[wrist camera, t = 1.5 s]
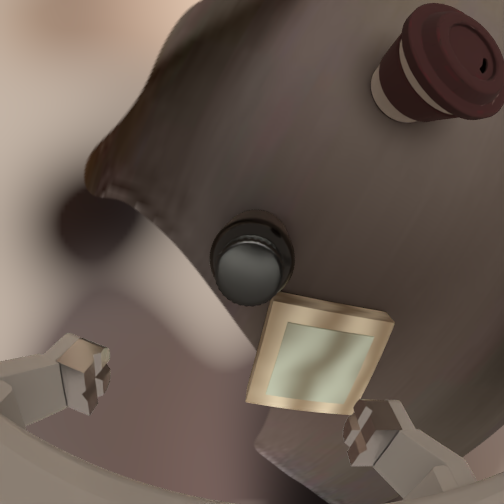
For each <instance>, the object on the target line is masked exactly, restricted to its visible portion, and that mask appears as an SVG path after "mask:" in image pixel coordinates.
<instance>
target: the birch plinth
mask: <svg viewBox="0 0 504 504" xmlns="http://www.w3.org/2000/svg"><path fill="white" fill-rule="evenodd" d="M394 324H395V322H394V321H393V320H392V319H391V317H390V316H389V315H388V314H387V313H386V312H383V311H377V310H372V309H366V308H361V307H355V306H350V305H345V304H339V303H334V302H329V301H324V300H319V299H314V298H309V297H304V296H299V295H294V294H289V293H284V292H278V293H277V294H276V295H275V296H273V298H272V299H271V300H270V304H269V307H268V311H267V315H266V319H265V323H264V327H263V331H262V334H261V338H260V342H259V346H258V349H257V353H256V357H255V360H254V364H253V368H252V371H251V375H250V379H249V382H248V386H247V394H246V402H248V403H254V404H260V405H266V406H272V407H279V408H286V409H293V410H301V411H310V412H320V413H332V414H345V415H352V413H353V411H354V409H353V407H354V405H355V404H356V402H357V401H358V400H359V399H360V398H361V396H362V394H363V392H364V390H365V388H366V386H367V384H368V382H369V380H370V378H371V376H372V374H373V372H374V370H375V368H376V366H377V364H378V361H379V359H380V357H381V355H382V353H383V350H384V348H385V346H386V344H387V341H388V339H389V336H390V334H391V332H392V329H393V327H394Z"/></svg>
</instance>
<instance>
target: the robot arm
mask: <svg viewBox="0 0 504 504" xmlns="http://www.w3.org/2000/svg"><path fill="white" fill-rule="evenodd" d="M109 359H110V350H109V349H108V348H107V347H104V346H102V345H99V344H96V343H94V342H92V341H89V340H87V339H84V338H81V337H79V336H76V335H74V334H71V333H67V334H65V336H63V337H62V338H61V339H60V340H59V341H58V342H57V343H55V344H54V345H53V346H52V347H51V348H50V349H49V350H48V351H47V352H45V353H44V354H43V355H41V354H35V355H30V356H26V357H20V358H15V359H11V360H5V361H0V504H235V503H228V502H222V501H216V500H210V499H205V498H200V497H195V496H191V495H186V494H182V493H178V492H174V491H170V490H166V489H163V488H159V487H155V486H152V485H149V484H145V483H142V482H139V481H136V480H133V479H130V478H127V477H124V476H122V475H119V474H116V473H113V472H111V471H108V470H106V469H103V468H101V467H98V466H96V465H93V464H91V463H89V462H86V461H84V460H82V459H80V458H78V457H75V456H73V455H71V454H69V453H67V452H65V451H63V450H61V449H59V448H57V447H55V446H53V445H51V444H49V443H48V442H46V441H44V440H42V439H40V438H38V437H37V436H35V435H33V434H31V433H30V432H28V431H27V429H26V426H28V425H30V424H32V423H34V422H37V421H39V420H41V419H44V418H46V417H48V416H50V415H52V414H55V413H57V412H59V411H61V410H63V409H66V408H67V407H69V408H72V409H74V410H76V411H79V412H81V413H84V414H87V415H89V416H90V415H91V413H92V412H93V410H94V408H95V407H96V406H97V404H98V399H97V397H99V396H102V395H104V393H105V392H106V390H107V388H108V385H109V382H110V374H111V373H110V368H109V367H108V365H107V362H108V361H109ZM353 409H354V412H355V413H353V414H352V415H350V416H349V417H348V418H347V420H346V422H345V424H344V428H343V439H344V443H346V444H347V445H348V446H349V447H350V448H349V449H348V451H347V454H348V458H349V461H350V465H351V466H373V468H374V469H375V470H376V471H377V472H378V473H379V474H380V475H381V476H382V477H383V478H384V479H385V480H386V481H387V482H388V483H389V484H390V485H391V486H392V487H393V489H394V490H395V491H396V492H397V493H398V494H399V495H400V496H401V497H402V498H403V500H402V501H398V502H392V503H385V504H504V472H502V473H499V474H497V475H494V476H492V477H489V478H486V479H483V480H481V481H477V480H476V478H475V476H474V474H473V473H472V471H471V469H470V467H469V465H468V464H467V462H466V461H465V459H463V458H462V457H460V456H459V455H457V454H456V453H454V452H452V451H451V450H449V449H448V448H446V447H445V446H443V445H442V444H440V443H439V442H437V441H436V440H434V439H433V438H431V437H430V436H428V435H427V434H425V433H424V432H422V431H421V430H419V429H418V430H416V429H415V427H414V425H413V424H412V422H411V420H410V418H409V416H408V414H407V413H406V411H405V409H404V407H403V405H402V403H401V402H400V401H398V400H366V399H359V400H358V401H357V402H356V404H355V405H354V407H353Z"/></svg>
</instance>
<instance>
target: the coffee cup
mask: <svg viewBox="0 0 504 504" xmlns="http://www.w3.org/2000/svg"><path fill="white" fill-rule="evenodd" d="M371 92H372V95H373V98H374V100H375V102H376V104H377V105H378V107H379V108H380V109H381V110H382V111H383V112H384V113H385V114H386V115H387V116H389V117H390V118H392V119H394V120H396V121H399V122H404V123H410V122H416V121H422V122H428V121H435V120H442V119H450V118H457V117H460V118H463V119H467V120H478V119H483V118H488V117H491V116H493V115H495V114H496V113H497V112H498V111H499V110H500V109H501V107H502V105H503V104H504V59H503V57H502V54H501V51H500V49H499V47H498V46H497V44H496V42H495V40H494V39H493V38H492V36H491V35H490V34H489V33H488V31H487V30H486V29H485V28H484V27H483V26H482V25H481V24H479V23H478V22H477V21H476V20H474V19H473V18H471V17H469V16H467V15H466V14H464V13H463V12H461V11H459V10H457V9H455V8H453V7H451V6H448V5H444V4H438V3H429V4H424V5H422V6H420V7H418V8H417V9H416V10H415V11H414V12H413V13H412V14H411V15H410V16H409V17H408V18H407V19H406V21H405V23H404V25H403V29H402V33H401V34H400V36H399V37H398V38H397V40H396V41H395V42H394V44H393V45H392V46H391V47H390V49H389V50H388V51H387V53H386V54H385V55H384V57H383V58H382V60H381V63H380V65H379V66H378V68H377V69H376V70H375V72H374V73H373V76H372V79H371Z"/></svg>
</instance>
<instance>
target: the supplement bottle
mask: <svg viewBox="0 0 504 504" xmlns="http://www.w3.org/2000/svg"><path fill="white" fill-rule="evenodd" d="M209 261H210V268H211V272H212V274H213V277H214V279H215V280H216V284H217V285H218V287H219V290H220V291H221V292H222V294H223V295H224V296H226V297H227V299H228V300H231V301H232V302H233V303H237V304H239V305H244V306H255V305H261V304H262V303H266V302H267V301H268V300H271V299H272V298H273V296H275V295H276V294H277V293H278V292H279V291H281V290H282V289H283V288H284V287H285V285H286V284H287V283H288V281H289V280H290V278H291V276H292V273H293V270H294V264H295V255H294V249H293V246H292V243H291V240H290V238H289V235H288V233H287V230H286V228H285V226H284V225H283V223H282V222H281V221H280V220H279V219H278V218H277V217H276V216H275V215H273V214H271V213H269V212H267V211H263V210H248V211H244V212H242V213H240V214H238V215H237V216H235V217H234V218H233V219H232V220H231V221H230V222H229V223H228V224H227V225H226V226H225V227H224V228H223V229H222V230H221V231H220V232H219V233H218V235H217V236H216V238H215V239H214V241H213V244H212V246H211V250H210V257H209Z"/></svg>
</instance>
